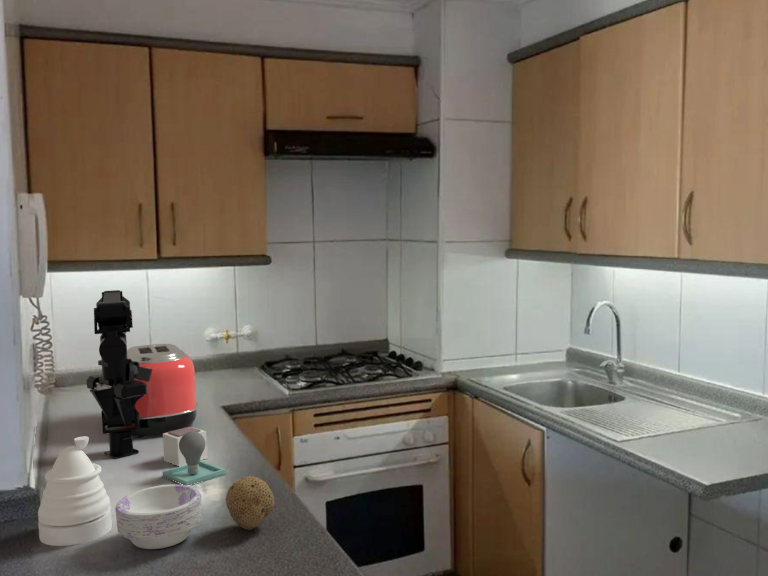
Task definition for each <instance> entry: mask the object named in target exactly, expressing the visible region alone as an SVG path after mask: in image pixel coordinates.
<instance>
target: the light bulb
mask: <svg viewBox="0 0 768 576" xmlns="http://www.w3.org/2000/svg"><path fill="white" fill-rule="evenodd" d="M179 449H180V452H181V453H182V455H183V456H184V458H185V460H186V463H187V465H188V473H189V474H192V475H194V474H196V473H198V472H199V463H200V458H201V455H202V453H203V451H204V449H205V439H204V437H203V436H202V435H201V434H200V433H198V432H188V433H186V434H184V435H183V436H182V438H181V439H180V442H179Z"/></svg>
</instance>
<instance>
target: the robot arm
mask: <svg viewBox="0 0 768 576" xmlns="http://www.w3.org/2000/svg"><path fill="white" fill-rule="evenodd" d="M132 311H133V310H131V302H130V300H129V299H127V298H126V297H125V296H124V295H123V290H119V289H116V290H105V291H102V292H101V297H100V299H99V300H98V301H97V302H96V303H95V307H94V308H93V326H94V328H93V329H94V335H100V336H99V341H100V342H99V348H98V353H99V356H100V360H97V364H98V366H101V373H99V374H95V375H90V376H89V377H88V378H87V379H86V389H89V392H90V393H91V394H92V396H93V398H94V399H95V401H96V402H97V404H98V405H99V407H100V409H101V426H102V427H101V428H102V435H106V434H108V444H109V445H108V446H109V450H106V451H104V455H106V456H109V457H110V458H112V459H119V458H123V457H126V456H130V455H133V454H138V453H140V451H139V450H138V449H136V448H134V444H133V436H132V431H133V430H137V429H139V428H140V420H139V412H138V411H137V409H136V407H135V405H136V402H137V401H138V400H139V399H140V398H141V397H143V396H144V394H147V385H146V384H145V383H143V382H141V381H137V380H134V378H136V379H139V380H145V381H146V382H149V381H150V377H151V374H152V370H153V369H149V368H145V367H140V366H139V362H135V361H132V360H131V359H128V358H127V350H128V345H127V333H130V332H131V329H132V328H134V327H133V314H132V313H133V312H132ZM127 381H129V382H127ZM132 423H135V424H132Z"/></svg>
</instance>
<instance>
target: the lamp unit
mask: <svg viewBox="0 0 768 576" xmlns="http://www.w3.org/2000/svg"><path fill="white" fill-rule="evenodd" d="M188 432H198V433H200V434H201V435H202V436H203V437H204V439H205V449H204V451H203V453H202V455H201V458H200V460H201V461H204V460H203V459H205V460H208V459H207V458H208V443H207V442H208V441H207V439H208V438H207V431H206V430H203V429H200V428H197V427H194V426H191V427H186V428H182V429H178V430H174V431H170V432H167V433H163V435H162V445H163V447H162V448H163V459H164V460H163V461H164V462H165V461H166V462H165V463H168V462H169V463H168V464H170V463H172V464H171V465H173V464H175V465H177V466H176V467H178V466H181V465H186V464H187V463H186V460H185V458H184V456H183V455H182V453H181V452H180V449H179V442H180V439H181V438H182V436H183V435H184V434H186V433H188ZM175 465H174V466H175Z"/></svg>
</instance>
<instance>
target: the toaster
mask: <svg viewBox="0 0 768 576" xmlns="http://www.w3.org/2000/svg"><path fill="white" fill-rule="evenodd" d="M127 358H128V359H131V360H132V361H135V362H139V366H140V367H145V368H149V369H153V370H152V374H151V377H150V381H149V382H146V381H145V380H139V379H136V378H134V380H137V381H141V382H143V383H145V384H146V385H147V394H144V396H143V397H141V398H140V399H139V400H138V401H137V402H136V405H135V407H136V409H137V411H138V412H139V420H140V428H139V429H137V430H133V431H132V437H137V439H143V438H145V437H152V436H163V433H167V432H170V431H174V430H178V429H182V428H186V427H193V424H194V423H195V421H196V418H197V417H198V416H197V415H198V410H197V409H198V407H199V404H198V401H197V391H196V390H197V389H196V373H195V372H196V371H195V366H194V365H195V364H194V361H193V360H192V358H191V356H189V354H187V353H185V351H183V349H181V348H180V347H178V346H176V345H175V344H172V343H156V344H155V343H154V344H145V345H144V344H143V345H137V346H131V347H129V348H127ZM127 382H129V381H127ZM132 424H135V423H132ZM142 437H143V438H142Z"/></svg>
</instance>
